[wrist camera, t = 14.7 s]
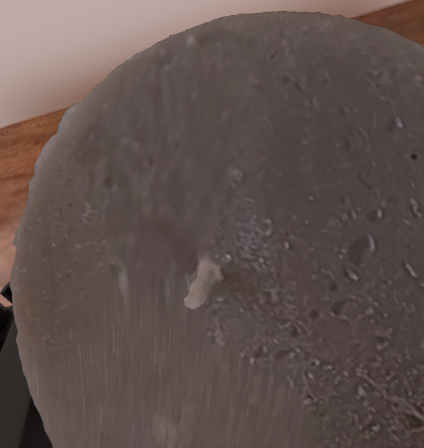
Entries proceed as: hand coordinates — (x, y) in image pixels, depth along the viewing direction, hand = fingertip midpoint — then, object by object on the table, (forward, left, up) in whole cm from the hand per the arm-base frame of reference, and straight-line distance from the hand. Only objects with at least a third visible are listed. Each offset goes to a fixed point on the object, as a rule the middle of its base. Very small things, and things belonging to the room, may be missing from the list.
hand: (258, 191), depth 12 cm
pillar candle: (-1, +3, -6) cm, 7 cm away
